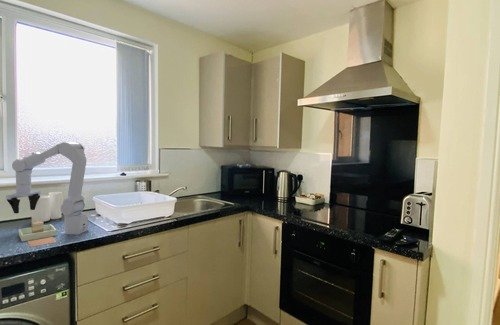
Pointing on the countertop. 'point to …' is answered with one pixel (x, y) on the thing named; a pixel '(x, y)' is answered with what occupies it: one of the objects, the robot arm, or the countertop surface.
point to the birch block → (37, 227)
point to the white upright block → (55, 204)
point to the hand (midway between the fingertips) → (24, 211)
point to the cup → (41, 210)
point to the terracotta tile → (41, 241)
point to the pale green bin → (27, 233)
